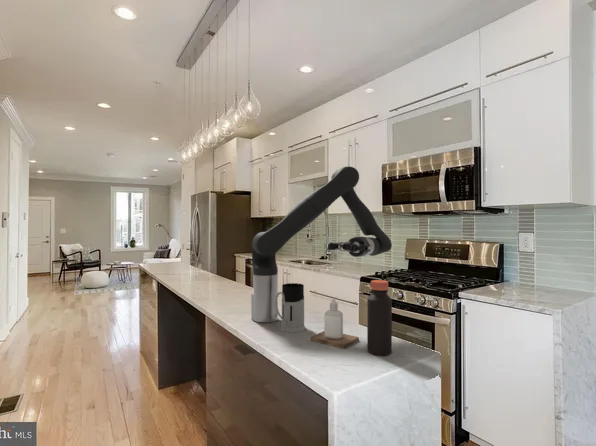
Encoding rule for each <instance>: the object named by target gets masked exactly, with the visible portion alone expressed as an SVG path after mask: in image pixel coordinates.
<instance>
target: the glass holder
mask: <svg viewBox="0 0 596 446" xmlns="http://www.w3.org/2000/svg"><path fill="white" fill-rule="evenodd" d="M281 286H282V287H281V289H282V290H281V291H282V292H281V291H280V292H279V291H278V293H277V295H276V298H275V306H276V311H277V314H278V318H280V319H281V324H280V325H281V326H280V328H279V329H280V330H281V331H283V332H287V333H297V332H303V331H305V330H306V326H305V292H304V291H305V290H304V289H305V286H304V284H303V283H296V282H295V283H293V282H292V283H290V282H289V283H283V284H282V285H281ZM280 294H281V313H280V311H279V307H278V306H277V298H279V296H280Z"/></svg>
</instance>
